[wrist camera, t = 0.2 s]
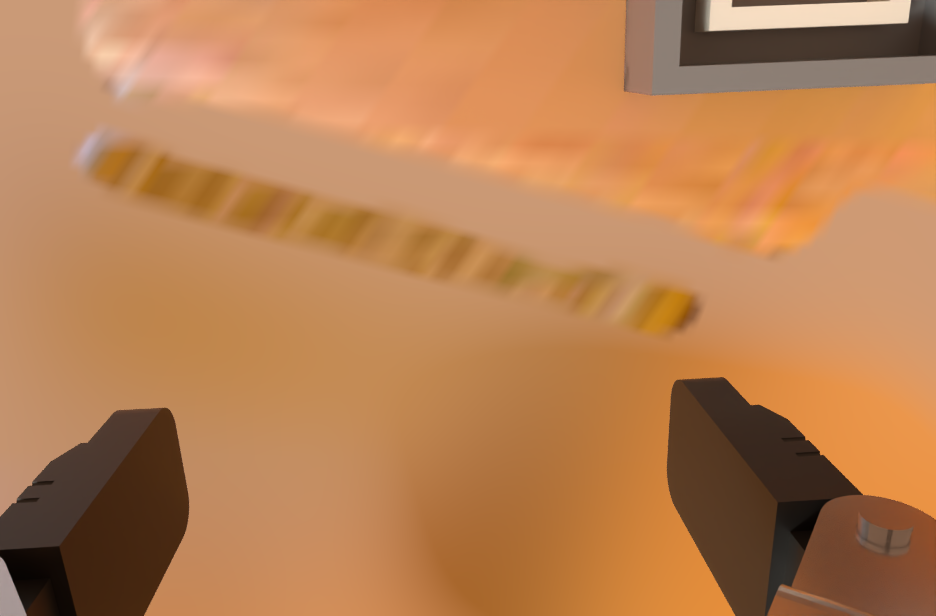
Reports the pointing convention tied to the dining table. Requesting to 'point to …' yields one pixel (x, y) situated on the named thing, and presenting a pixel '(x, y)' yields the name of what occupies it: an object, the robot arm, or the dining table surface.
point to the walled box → (777, 44)
